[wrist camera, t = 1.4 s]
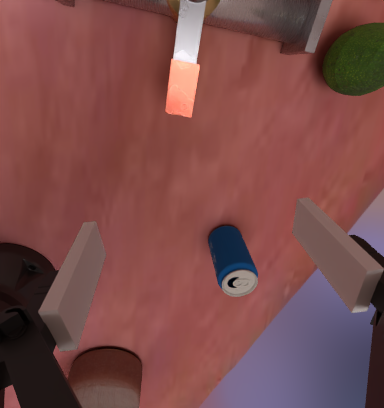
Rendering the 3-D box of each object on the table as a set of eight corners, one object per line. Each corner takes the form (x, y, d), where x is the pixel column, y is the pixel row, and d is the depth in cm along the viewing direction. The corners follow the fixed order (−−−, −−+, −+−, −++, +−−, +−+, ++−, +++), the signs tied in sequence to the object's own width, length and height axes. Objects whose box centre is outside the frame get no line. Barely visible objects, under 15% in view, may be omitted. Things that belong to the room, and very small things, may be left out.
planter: (100, 390, 72) (84, 467, 58) (57, 360, 64) (27, 442, 50) (154, 369, 70) (152, 445, 56) (118, 336, 61) (104, 415, 47)
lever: (177, -53, 23) (179, -71, 20) (219, -42, 24) (227, -57, 21) (160, 106, 30) (159, 112, 27) (193, 112, 30) (196, 118, 27)
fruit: (334, 15, 33) (411, -6, 23) (376, 45, 36) (464, 39, 25) (298, 76, 37) (352, 82, 26) (339, 100, 39) (403, 114, 28)
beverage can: (209, 223, 48) (222, 268, 37) (243, 223, 48) (264, 268, 38) (206, 250, 51) (216, 299, 40) (237, 250, 51) (255, 298, 41)
